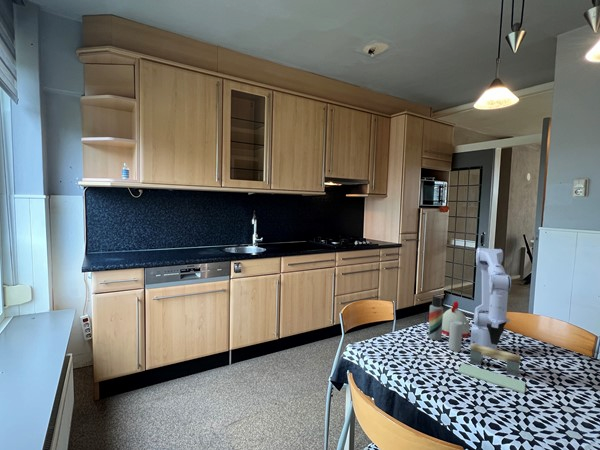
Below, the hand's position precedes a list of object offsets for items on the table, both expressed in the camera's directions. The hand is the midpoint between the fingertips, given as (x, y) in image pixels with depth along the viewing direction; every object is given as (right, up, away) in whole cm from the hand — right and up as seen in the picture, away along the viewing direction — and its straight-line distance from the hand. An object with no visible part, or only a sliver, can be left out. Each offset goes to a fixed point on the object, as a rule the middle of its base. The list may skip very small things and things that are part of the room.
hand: (495, 340), depth 118 cm
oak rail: (0, -6, 0) cm, 6 cm away
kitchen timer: (+1, -9, +35) cm, 36 cm away
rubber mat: (-7, -11, -7) cm, 14 cm away
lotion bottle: (-12, -9, +26) cm, 30 cm away
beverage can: (-8, -10, +15) cm, 19 cm away
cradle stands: (0, -10, +1) cm, 10 cm away
